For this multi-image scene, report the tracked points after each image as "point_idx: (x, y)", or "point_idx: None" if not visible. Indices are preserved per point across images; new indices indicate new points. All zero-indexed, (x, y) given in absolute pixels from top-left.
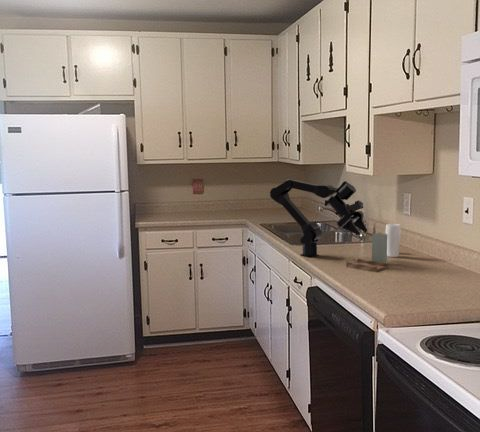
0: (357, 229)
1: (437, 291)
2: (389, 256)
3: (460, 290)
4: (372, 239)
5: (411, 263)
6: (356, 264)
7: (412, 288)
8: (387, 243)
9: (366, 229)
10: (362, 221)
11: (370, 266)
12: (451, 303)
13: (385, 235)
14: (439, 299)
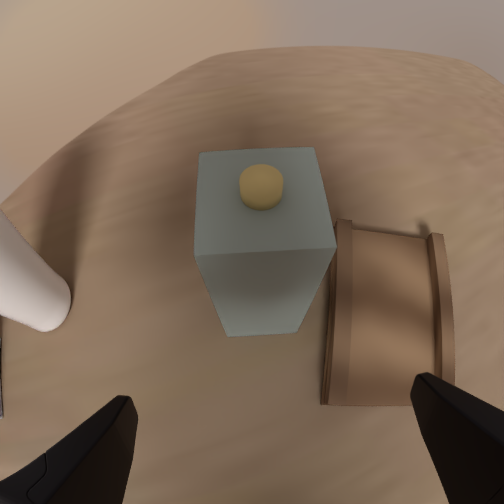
0: (459, 403)
1: (450, 88)
2: (68, 310)
3: (407, 62)
4: (326, 269)
5: (168, 185)
6: (453, 337)
7: (477, 122)
8: (23, 298)
9: (120, 407)
10: (25, 493)
11: (446, 259)
12: (480, 78)
13: (261, 151)
14: (481, 88)
